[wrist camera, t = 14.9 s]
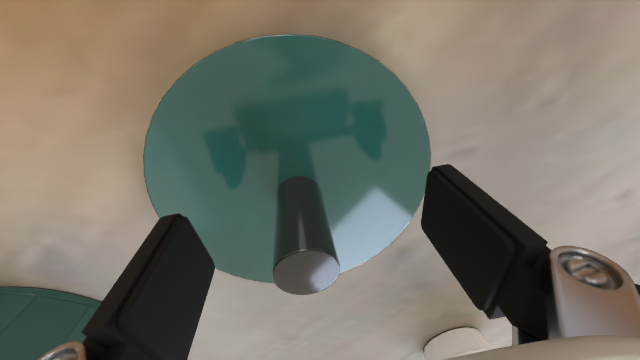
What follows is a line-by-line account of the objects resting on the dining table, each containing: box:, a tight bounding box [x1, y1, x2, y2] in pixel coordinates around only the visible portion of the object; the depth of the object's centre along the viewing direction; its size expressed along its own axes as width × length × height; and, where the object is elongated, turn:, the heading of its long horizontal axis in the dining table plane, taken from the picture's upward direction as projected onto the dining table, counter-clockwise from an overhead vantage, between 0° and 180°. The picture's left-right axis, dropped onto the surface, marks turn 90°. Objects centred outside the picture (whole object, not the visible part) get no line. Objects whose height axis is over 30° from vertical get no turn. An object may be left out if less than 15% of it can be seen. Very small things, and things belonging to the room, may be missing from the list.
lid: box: [143, 34, 431, 295], centre depth 11 cm, size 15×15×6 cm
